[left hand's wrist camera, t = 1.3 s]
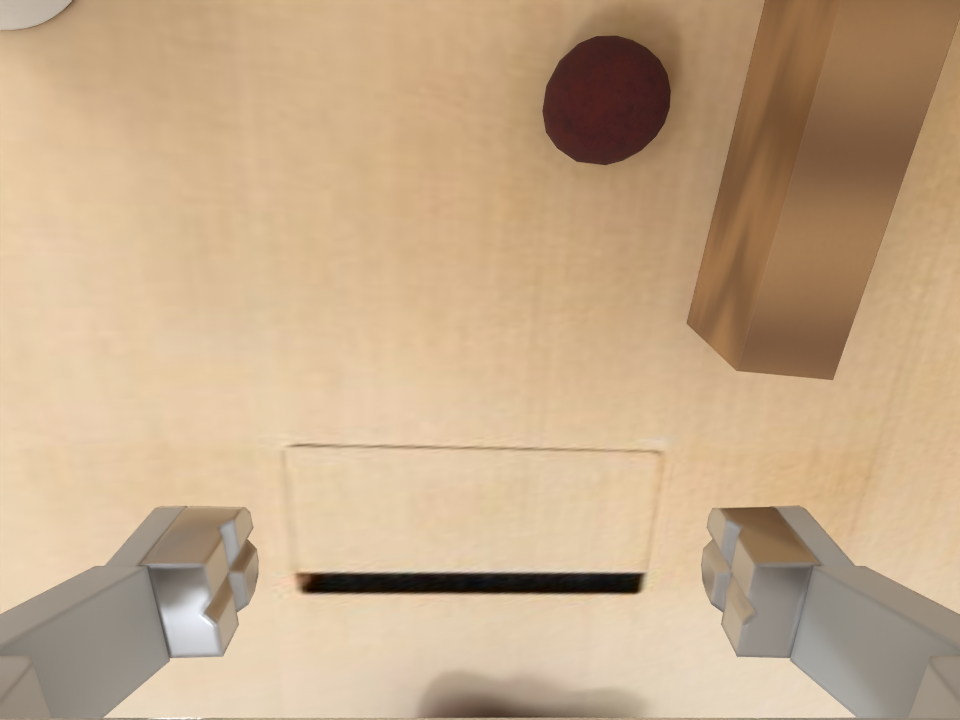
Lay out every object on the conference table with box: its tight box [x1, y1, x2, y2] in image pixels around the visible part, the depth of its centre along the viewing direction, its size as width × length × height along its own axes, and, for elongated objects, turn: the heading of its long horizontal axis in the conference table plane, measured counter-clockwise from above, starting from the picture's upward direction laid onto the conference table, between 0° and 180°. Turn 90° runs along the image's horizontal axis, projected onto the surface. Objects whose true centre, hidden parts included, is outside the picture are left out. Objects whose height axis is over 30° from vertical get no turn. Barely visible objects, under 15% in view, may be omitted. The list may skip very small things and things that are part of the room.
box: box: [687, 0, 960, 380], centre depth 37 cm, size 27×6×10 cm, turn 174°
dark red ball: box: [543, 36, 670, 165], centre depth 37 cm, size 7×8×7 cm
